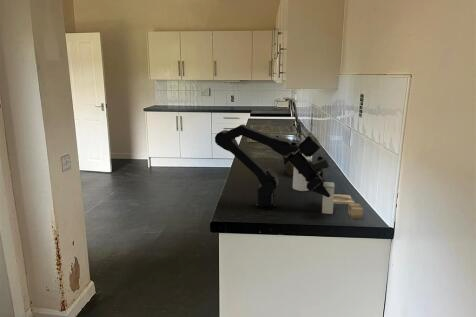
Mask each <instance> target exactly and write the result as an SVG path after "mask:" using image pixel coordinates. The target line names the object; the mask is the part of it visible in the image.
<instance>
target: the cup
mask: <svg viewBox="0 0 476 317" xmlns="http://www.w3.org/2000/svg"><path fill="white" fill-rule="evenodd" d="M302 155H303V154H302ZM303 156H304V155H303ZM304 157H305V158H306V159H307V160H308V161H311V162H312V163H313V155H312V156H311V157H309V156H308V157H306V156H304ZM307 182H308V181H306V180H305V178H304V177H303V176H302V175H301V174H299V173H298V170H297V169H296V168H295V167H294V172H293V176H292V189H293V190H295V191H300V192H308V191H309V190H308V189H307Z"/></svg>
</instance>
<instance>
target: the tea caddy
mask: <svg viewBox="0 0 476 317" xmlns="http://www.w3.org/2000/svg"><path fill="white" fill-rule="evenodd" d="M323 185H324V187H325V188H326V190H327V191H328V192H329V194H330V197H326V196H324V195H322V203H321V204H322V205H321V206H322V207H321V214H329V215H333V214H334V204H333V202H334V195H335V187H336V186H335V183H334V182H333V181H331V182H330V181H326V182H323Z"/></svg>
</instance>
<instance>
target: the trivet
mask: <svg viewBox="0 0 476 317" xmlns="http://www.w3.org/2000/svg"><path fill="white" fill-rule="evenodd" d="M349 204H356V202H355V201H354V199H353V198H352V197H351V195H350V194H334V202H333V205H349Z"/></svg>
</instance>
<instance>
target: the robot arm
mask: <svg viewBox="0 0 476 317" xmlns="http://www.w3.org/2000/svg"><path fill="white" fill-rule="evenodd" d="M240 136H242V137H245V138H247V139H250V140H253V141H254V142H258V143H260V144H263V145H265V146H266V147H267V146H268V147H269V148H270V149H271V150H273V151H274V152H276V153H277V154H279V155H281V156H282V155H284V161H283V165H284V164H286V163H287V162H290V163H291V164H292V165H293V166H294V167H295V168H296V169H297V170H298V173H299V174H301V175H302V176H303V177H304V178H305V180H306V181H308V182H307V189H308V190H307V191H309V192H313V193H316V194H319V195H321V196H323V195H324V196H326V197H330V194H329V192H328V191H327V190H326V188H325V187H324V185H323V182H327V181H326V180H325V179H324V175H323V174H324V171H323V170H324V169H328V168H329V167H330V164H329V161H328V160H327V157H323V155H318V156H317V157H316V160H315V161H312V162H311V161H308V160H307V159H306V158H305V157H304V156H306V157H308V156H309V157H311V156H312V157H313V155H314V154H316V153H317V152H318V151H319V150H320V149H321V148H322V146H321V144H320V143H319V142H318V141H317V140H316V139H315V138H313V137H312V136H310V135H309V134H308V135H307V136H306V137H305V138H304V139H303V140H302V141H301V142H294V141H292V140H290V139H289V138H285V137H279V136H272V135H269V134H267V133H265V132H262V131H259V130H257V129H254V128H252V127H250V126H247V125H246V124H243V123H242V124H240V125H238V126H236V127H233V128H231V129H229V130H227V129H223V130H221V131H219V132H218V133H217V134H216V135H215V136H214V143H215V144H216V145H217V146H218V147H220V148H222V149H223V150H225V151H227V152H229V153H231V154H232V155H233V156H234V157H236V158H237V160H239V161H240V162H241V163H242V164H243V165H244V166H245V167H246V168H247V169H248V170H249V171H250V172H251V173H253V174H254V175H255V177H256V179H257V180H258V182H259V183H260V184H259V186H258V188H257V203H255V204H254V206H255V207H258V208H260V209H263V210H269V209H272V208H275V207H277V204H275V192H274V191H275V189H276V188H277V186H278V184H279V176H278V175H277V174H278V173H277V172H275V171H274V170H273V169H272V168H271V167H268V168H265V167H263V166H262V165H261V164H260V162H258V161H257V160H256V159H255V158H253V156H251V155H250V154H249V153H248V152H247V151H246V150H245V149H244V148H243V147H242V146H240V145H239V143H238V141H237V139H236V138H239V137H240ZM298 149H299V150H298ZM297 150H298V151H297ZM300 151H301V152H302V154H303V155H304V156H303V155H302V154H301V153H300ZM290 152H292V153H291V154H290V155H289V156H287V157H285V155H288V154H289V153H290ZM293 152H295V153H293Z"/></svg>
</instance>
